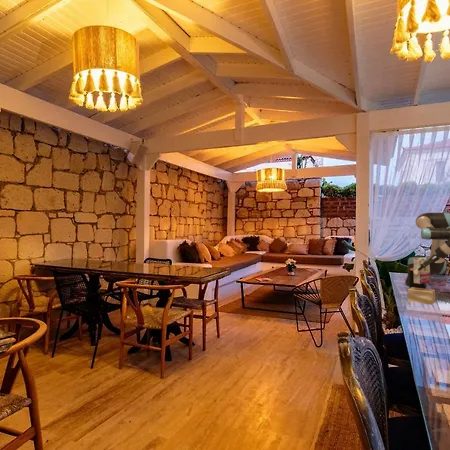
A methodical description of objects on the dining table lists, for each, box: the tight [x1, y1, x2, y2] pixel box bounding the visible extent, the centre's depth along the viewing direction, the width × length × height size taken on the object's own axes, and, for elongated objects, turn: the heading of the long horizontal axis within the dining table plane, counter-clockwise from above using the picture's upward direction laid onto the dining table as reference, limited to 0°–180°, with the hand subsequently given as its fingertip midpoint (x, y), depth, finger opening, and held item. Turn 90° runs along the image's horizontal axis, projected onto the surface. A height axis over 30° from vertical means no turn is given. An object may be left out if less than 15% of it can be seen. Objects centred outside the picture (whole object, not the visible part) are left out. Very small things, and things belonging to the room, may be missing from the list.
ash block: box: [407, 287, 436, 306], centre depth 235 cm, size 12×14×8 cm
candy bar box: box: [413, 257, 431, 284], centre depth 235 cm, size 11×5×16 cm, turn 119°
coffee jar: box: [408, 268, 427, 289], centre depth 258 cm, size 11×11×18 cm
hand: (417, 272), depth 236 cm, fingers closed on candy bar box, 12 cm apart
